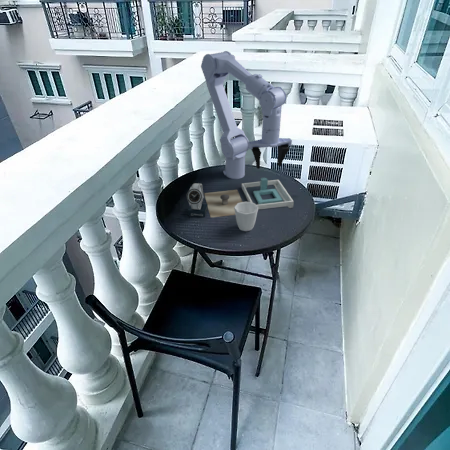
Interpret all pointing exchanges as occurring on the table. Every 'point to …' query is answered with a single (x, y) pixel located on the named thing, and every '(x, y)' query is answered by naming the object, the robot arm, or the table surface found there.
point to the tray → (280, 189)
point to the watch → (196, 201)
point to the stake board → (218, 203)
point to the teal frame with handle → (264, 191)
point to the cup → (246, 215)
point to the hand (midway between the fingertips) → (268, 166)
